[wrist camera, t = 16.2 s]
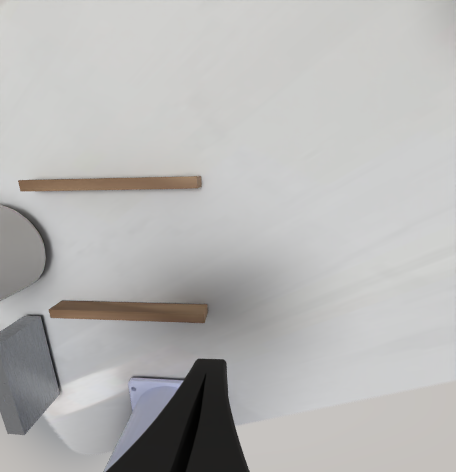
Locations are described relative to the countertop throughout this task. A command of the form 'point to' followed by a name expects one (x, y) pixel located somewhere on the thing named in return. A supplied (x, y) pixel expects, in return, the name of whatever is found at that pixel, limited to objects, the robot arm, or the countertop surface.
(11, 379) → the bar
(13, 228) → the can
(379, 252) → the countertop surface
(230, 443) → the robot arm
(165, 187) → the pair of wooden slats
